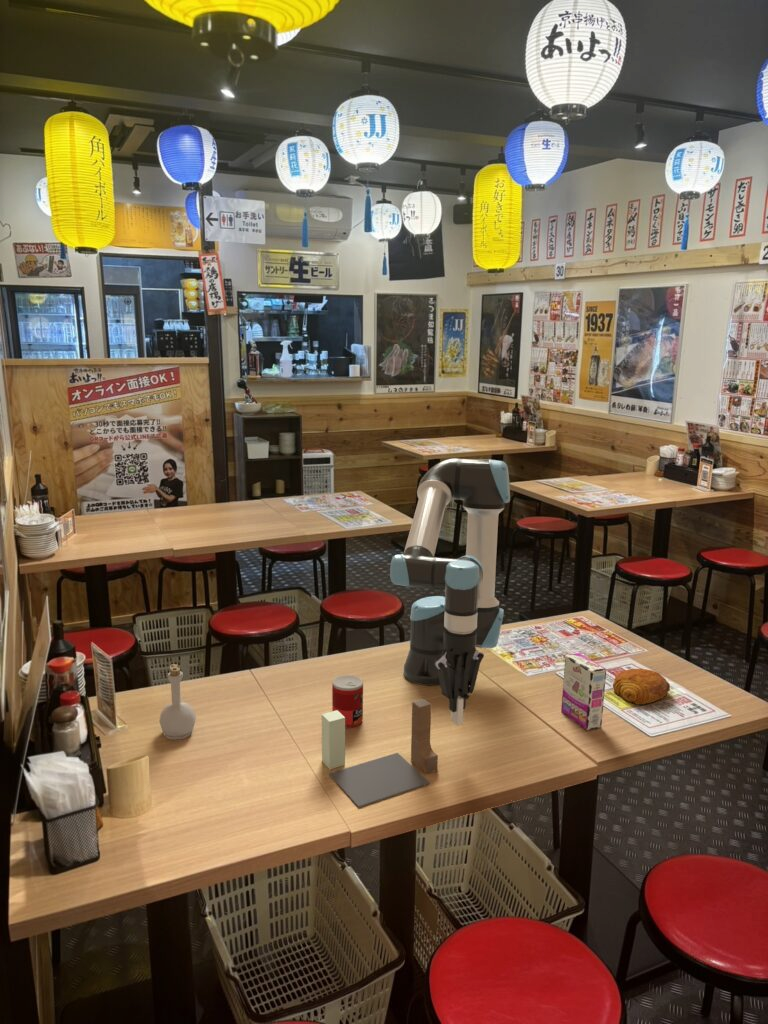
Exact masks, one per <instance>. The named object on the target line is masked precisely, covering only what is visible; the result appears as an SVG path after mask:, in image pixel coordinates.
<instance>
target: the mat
mask: <svg viewBox="0 0 768 1024" xmlns="http://www.w3.org/2000/svg"><path fill="white" fill-rule="evenodd" d="M328 774H329V776H330V777H331V779H332V780H334V783H336V784H337V786H339V788H341V790H342V791H343V792H344V793H345V794H346V796H347V797H348V798H349V799H350V800H351V801H352V803H354V804H355V806H357V808H359V809H360V808H362V807H366V806H368V805H371V804H375V803H378V802H380V801H383V800H386V799H390V798H392V797H395V796H398V795H402V794H405V793H408V792H410V791H413V790H416V789H418V788H422V787H425V786H428V785H430V784H431V781H429V780H428V779H427V778H426V777H425V776H424V775H423V774H422V773H420V772H419V771H418V770H417V769H416V768H415V767H414V766H413V765H412V764H411V763H410V762H409V761H407V760H406V759H405V757H403V756H402V755H401V754H400V753H398V752H395V753H391V754H389V755H388V754H387V755H386V756H382V757H378V758H375V759H372V760H369V761H365V762H363V763H358V764H356V765H353V766H349V767H345V768H342V769H339V770H336V771H333V772H329V773H328Z"/></svg>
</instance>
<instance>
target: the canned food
mask: <svg viewBox="0 0 768 1024" xmlns="http://www.w3.org/2000/svg"><path fill="white" fill-rule="evenodd" d="M331 686H332V687H331V694H332V695H331V697H332V698H331V701H332V702H331V703H332V704H331V705H332V707H331V708H332V709H331V710H332V711H336V710H338V711H339V712H340V713H341V714H342V715H343V716H344V717H345V729H346V728H354V727H358V726H359V725H360V724H362V722H363V719H364V718H363V717H364V681H363V680H362V678H360V677H358V676H354V675H340V676H337V677H335V678H334V679H333V680H332V685H331ZM332 711H331V712H332Z"/></svg>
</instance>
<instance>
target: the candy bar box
mask: <svg viewBox="0 0 768 1024" xmlns="http://www.w3.org/2000/svg"><path fill="white" fill-rule="evenodd" d="M564 657H565V658H564V671H563V681H562V683H563V684H562V695H561V696H562V697H561V709H560V710H561V713H562V714H563V715H565V716H566V717H568V718H569V719H571V720H572V721H573V722H574V723H576V724H577V725H578V726H580V727H582V728H583V729H584V730H586V731H591V730H597V729H600V728H602V726H603V725H602V724H603V711H604V701H605V700H604V699H605V690H606V686H605V685H606V677H607V668H606V667H604V666H602V665H601V664H599V663H597V662H596V661H594V660H591V659H590V658H588V657H587V656H586V655H583V654H582V653H579V652H578V653H573V654H572V653H571V654H567V655H565V656H564Z"/></svg>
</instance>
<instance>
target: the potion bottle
mask: <svg viewBox="0 0 768 1024" xmlns="http://www.w3.org/2000/svg"><path fill="white" fill-rule="evenodd" d="M166 675H167V679H168V682H169V683H170V689H171V690H170V691H171V703H168V704H167V705H166V706H165V707H164V708H163V709H162V711H161V713H160V717H159V724H160V728H161V731H162V734H163V735H164V737H165V739H169V740H171V741H177V740H183V739H186V738H188V737H189V736H191V735H192V732H193V730H194V727H195V725H196V719H197V716H196V713H195V710H194V708H192V706H191V705H190V704H188V703H187V701H186V702H184V701H182V698H181V697H182V696H181V681H182V680H183V676H184V672H183V671H181V667H179V665H178V664H177V663H173V664H170V666H169V672H168V673H167V674H166Z"/></svg>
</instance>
